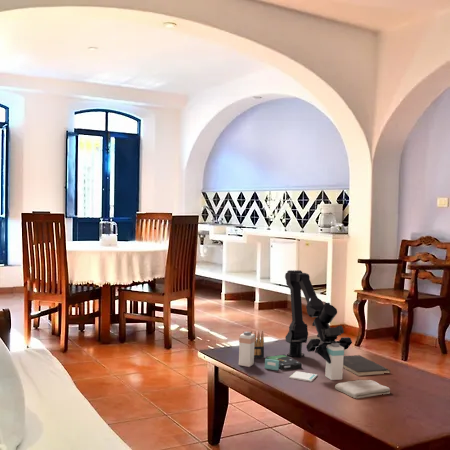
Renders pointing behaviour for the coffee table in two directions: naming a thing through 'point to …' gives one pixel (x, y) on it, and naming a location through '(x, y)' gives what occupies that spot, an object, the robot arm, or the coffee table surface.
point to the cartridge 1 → (246, 349)
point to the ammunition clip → (258, 345)
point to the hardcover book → (362, 366)
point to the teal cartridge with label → (271, 364)
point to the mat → (303, 376)
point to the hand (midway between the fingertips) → (336, 362)
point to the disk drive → (285, 362)
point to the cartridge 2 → (334, 362)
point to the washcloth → (362, 388)
